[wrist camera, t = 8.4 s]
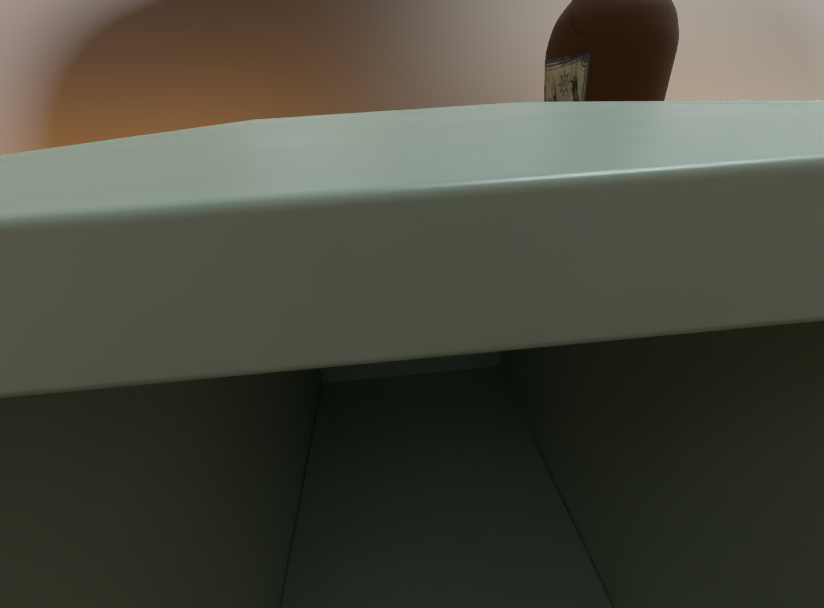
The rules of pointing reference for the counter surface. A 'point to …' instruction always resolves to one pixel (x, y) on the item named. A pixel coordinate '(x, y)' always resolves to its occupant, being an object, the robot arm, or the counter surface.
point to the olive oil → (611, 51)
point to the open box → (419, 361)
